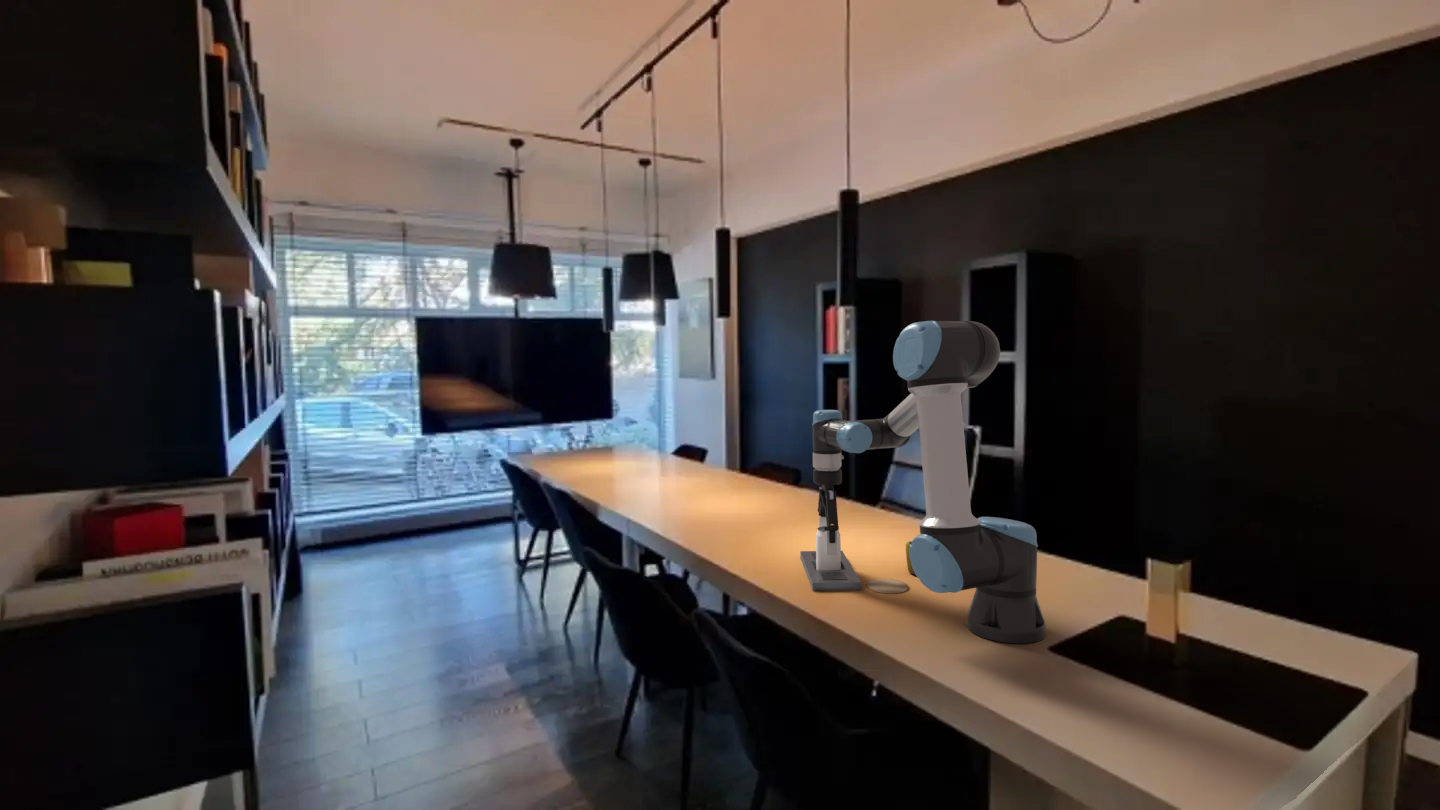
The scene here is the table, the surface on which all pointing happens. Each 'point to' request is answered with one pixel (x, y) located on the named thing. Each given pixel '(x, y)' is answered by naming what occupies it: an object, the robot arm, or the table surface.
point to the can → (821, 558)
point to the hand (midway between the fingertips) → (827, 547)
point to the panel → (829, 574)
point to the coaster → (887, 586)
